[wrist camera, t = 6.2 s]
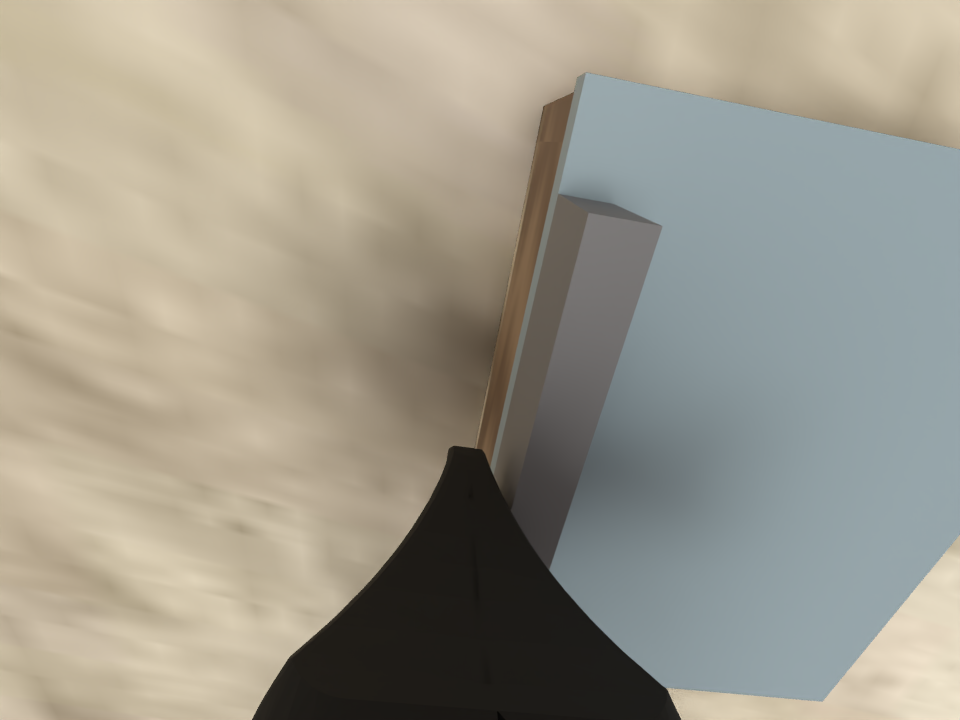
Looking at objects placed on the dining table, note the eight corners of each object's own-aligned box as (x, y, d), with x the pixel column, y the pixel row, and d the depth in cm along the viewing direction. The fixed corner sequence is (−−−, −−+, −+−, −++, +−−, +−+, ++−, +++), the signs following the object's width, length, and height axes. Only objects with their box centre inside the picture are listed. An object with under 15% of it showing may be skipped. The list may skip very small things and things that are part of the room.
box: (735, 565, 23) (799, 668, 19) (457, 533, 22) (453, 635, 17) (949, 186, 16) (1144, 205, 11) (543, 106, 14) (576, 91, 10)
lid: (808, 679, 18) (880, 795, 15) (450, 646, 17) (445, 764, 14) (1179, 200, 11) (1487, 227, 7) (577, 77, 9) (632, 44, 6)
